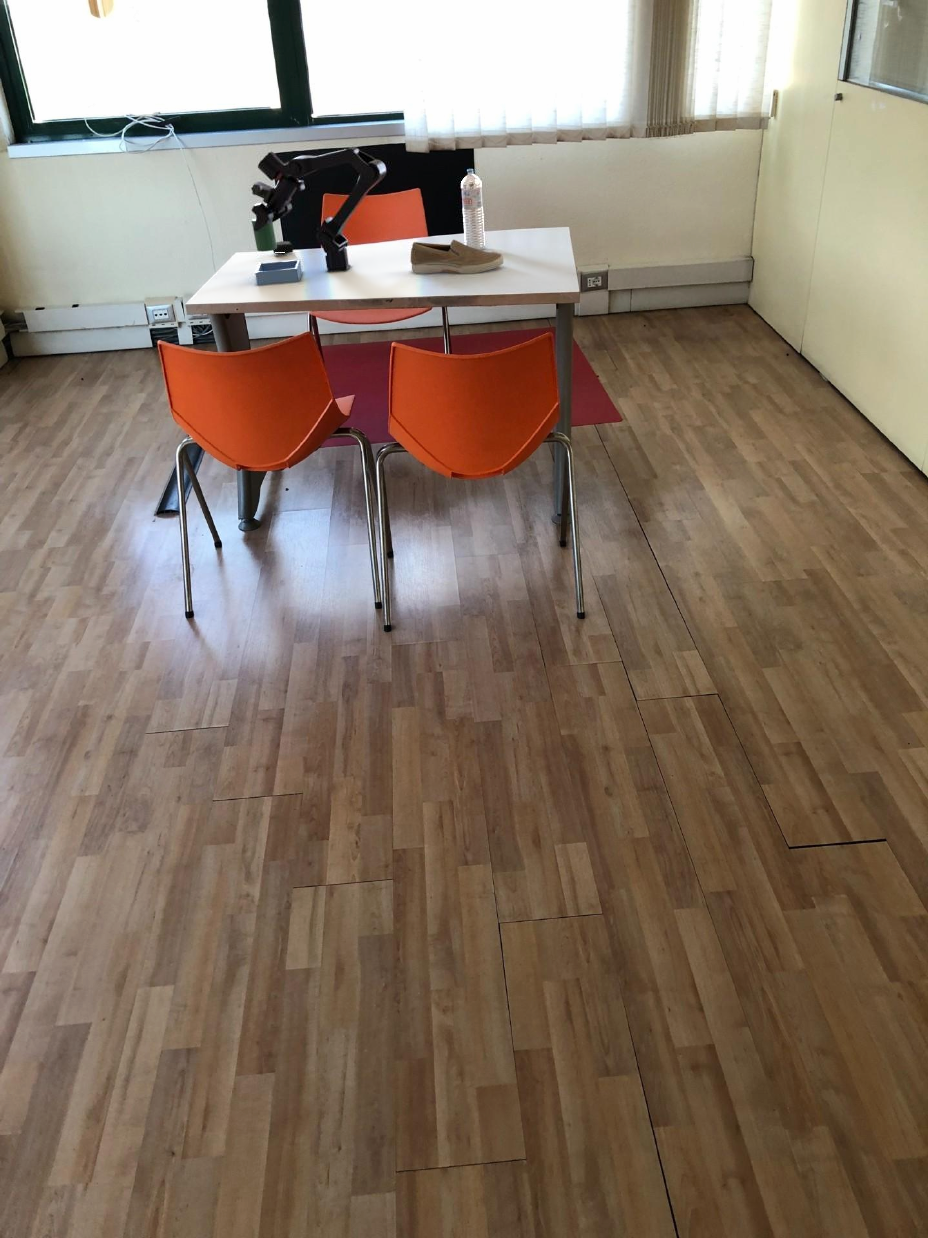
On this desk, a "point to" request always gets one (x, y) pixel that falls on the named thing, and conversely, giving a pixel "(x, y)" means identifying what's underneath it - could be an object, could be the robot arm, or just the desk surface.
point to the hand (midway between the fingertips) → (259, 228)
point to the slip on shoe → (452, 258)
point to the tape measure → (283, 247)
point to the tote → (278, 272)
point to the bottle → (265, 237)
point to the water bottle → (473, 211)
